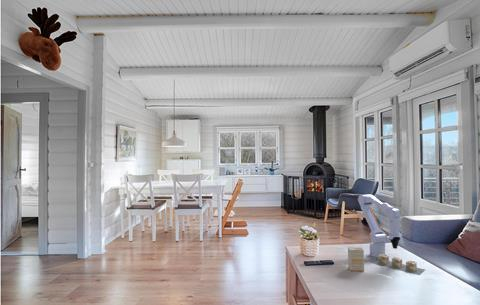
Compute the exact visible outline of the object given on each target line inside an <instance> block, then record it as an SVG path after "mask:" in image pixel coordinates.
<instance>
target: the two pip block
mask: <svg viewBox="0 0 480 305" xmlns="http://www.w3.org/2000/svg"><path fill="white" fill-rule="evenodd" d="M378 258H379V263H382V264H388V263H389V261H390V259H389V258H390V256H389V255H386V254H385V255H383V254H381V255H379V257H378Z"/></svg>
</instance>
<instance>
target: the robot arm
mask: <svg viewBox="0 0 480 305" xmlns="http://www.w3.org/2000/svg"><path fill="white" fill-rule="evenodd" d="M357 201H358V203H359V206H360V209H361V211H362V213H363V215H364V218H365V219H366V223H367V224H368V227H369V229H370V233H369V236H370V241H371V242H370V243H369V256H371V257H375V258H379V255H381V254H383V255H386V244H387V242H388V240H390V242H391V246H392V249H396V250H397V249H398V247H399V242H400V240H401V237H402V236H403V235H402V234H401V230H400V218H401V216H402V211H401V210H400V209H399V208H396V207H394V206H391V205H390V204H389V203H388V202H381V201H380V199H378V198H377V197H375V195H373V194H371V193H369V194H360V195H358V197H357ZM373 204H374V205H375V206H377V207H378V208H379V210H381V211H382V212H383V213H385V214H387V217H388V220H389V235H388V236H387V234H386V233H385V231H384V230H382V229H381V228H380V227H379V225H378V223H377V220H376V219H375V217H374V214H373V212H372V211H371V209H370V208H371V207H372V205H373Z"/></svg>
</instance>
